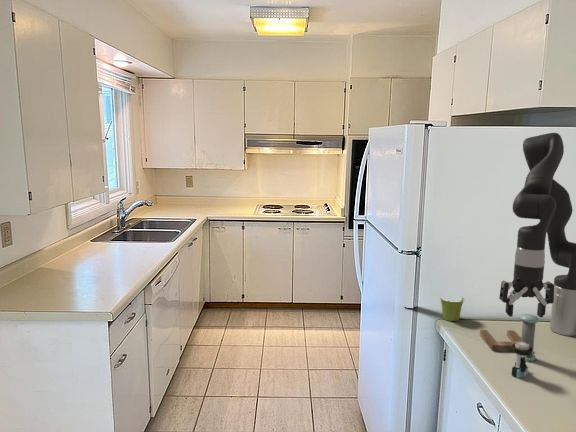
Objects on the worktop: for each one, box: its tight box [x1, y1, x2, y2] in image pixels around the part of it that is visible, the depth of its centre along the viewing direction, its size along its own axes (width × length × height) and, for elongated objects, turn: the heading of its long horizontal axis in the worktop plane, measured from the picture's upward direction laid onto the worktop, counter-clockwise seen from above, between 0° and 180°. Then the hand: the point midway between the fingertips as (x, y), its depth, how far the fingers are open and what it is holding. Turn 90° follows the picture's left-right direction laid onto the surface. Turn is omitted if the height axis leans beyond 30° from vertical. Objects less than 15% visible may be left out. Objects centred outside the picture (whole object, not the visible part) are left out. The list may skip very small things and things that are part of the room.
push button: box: [511, 341, 532, 379], centre depth 130 cm, size 7×5×10 cm
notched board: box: [479, 329, 521, 352], centre depth 151 cm, size 12×12×2 cm
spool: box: [519, 313, 539, 363], centre depth 140 cm, size 5×5×14 cm
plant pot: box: [438, 296, 465, 322], centre depth 172 cm, size 9×9×9 cm
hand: (524, 316), depth 128 cm, fingers open, 8 cm apart
